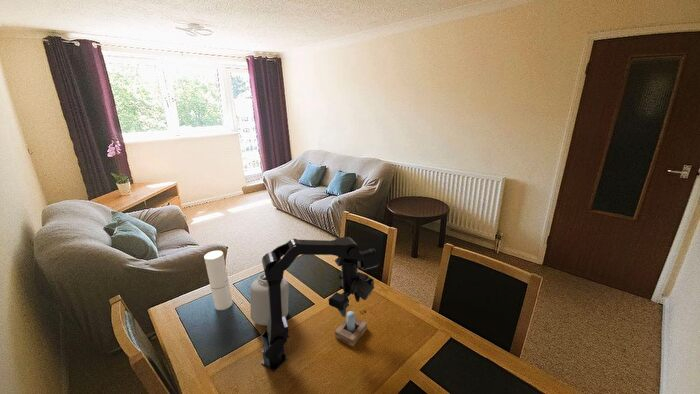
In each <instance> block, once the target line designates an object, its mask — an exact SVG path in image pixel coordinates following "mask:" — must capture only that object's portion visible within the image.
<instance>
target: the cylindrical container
mask: <svg viewBox="0 0 700 394" xmlns="http://www.w3.org/2000/svg"><path fill="white" fill-rule="evenodd" d="M203 258H204V259H203V260H204V262H205V267H206V273H207V277H208V281H209V286H210V291H211V295H212V298H213V299H212V300H213V303H214V308H215V310H217V311H224V310H227V309H228V308H230V307H231V306H232V305H233V298H232V297H233V296H232V292H231V287H230V283H229V277H228V271H227V267H226V261H225V257H224V252H223V251H222V250H212V251H209V252H207V253H206V254H204V256H203Z"/></svg>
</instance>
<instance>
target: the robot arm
mask: <svg viewBox="0 0 700 394" xmlns="http://www.w3.org/2000/svg"><path fill="white" fill-rule="evenodd" d="M306 255H307V256H335V257H337V258H336V259H335V260H334V262H335V264H336V265H337V266H338V267H340V269H341V274H340V275H338V277H339V279H340V280H341V284H340V285H339V289H341V290H342V291H343V292H341V293H339V292H334V293H333V294H332V295H331V296H330V297H329V298H328V305H329V306H330V307H333V308H335V309H337V310H338V312H339V313H340V315H341V316H342V317H344V318H346V317H347V308H348V307H349V306H350V299H349V297H350V296H351V295H354V299H355V301H356V303H360V299H361V300H363V301H366V300H368V298H369V297H370V296H371V294H372V293H373V290H374V289H375V279H374V278H372V277H371V276H369V275H368V274H366V273H362V272H359V271H358V270H359V269H361V270H362V271H365V270H368V269H373V268H376V267H378V266H379V265H380V260H379V257H378V254H377V250H376V249H375V248H374V247H372V248H369V249H365V250H363V251H362V250H360V246H359V245H358V244H357V243H356V242H355V241H354V240H353V238H351V237H349V236H343V237H337V238H335V239H331V240H325V239H324V240H323V239H321V240H318V239H298V238H292V239H289V240H288V241H287V242H286V243H284V244H281V245H279V246H277V247H276V248H274V249H273V250H272V251H269V252H267V253H265V254H264V255H263V256H262V258H261V264H262V268H263V271H264V273H265V276H266V279H267V283H268V297H269V312H270V318H269V320H268V325H266V329H265V331H263V333H262V334H261V336H260V337H261V342H262V348H263V349H262V350H261V352H262V360H261V361H260V363H261V364H262V365H263V366H264V367H266V368H267V369H269V370H271V372H276V370H277V369H279V367H280V366H281V365H282V364H283V363H285V361H286V360H287V359H288V356H287V355H286V354H285V344H287V343H288V339H289V338H290V334H289V328H290V326H289V324H288V321H287V316H283V317H282V303H281V281H282V279H283V278H284V273H285V271H286V270H287V269H289V268H290V266H291V265H292V264H293V262H294V261H295V259H297V258H298V257H299V256H306ZM358 268H359V269H358Z"/></svg>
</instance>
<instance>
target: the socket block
mask: <svg viewBox="0 0 700 394" xmlns="http://www.w3.org/2000/svg"><path fill="white" fill-rule="evenodd" d="M367 330H368V322H367V321H365V320H362V319H360V318H358V317H356V316H355V332H354V333H351V332H349V331H347V317H345V319H344V321H343V322H342V323H341V324H340V325H339V326H338V327H337V328H336V330H335V331H334V337H335V339H337V340H339V341H341V342H342V343H345V344H346V345H348V346H350V347H355V345H356V344H357V343H358V342H359V340H360V339H361V338H362V337H363V335H364V334H365V333H366V331H367Z"/></svg>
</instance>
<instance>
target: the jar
mask: <svg viewBox="0 0 700 394" xmlns="http://www.w3.org/2000/svg"><path fill="white" fill-rule="evenodd" d="M249 288H250V290H249V291H250V298H249V299H250V301H249V302H250V303H249V304H250V306H249V307H250V308H249V309H250V319H251V320H252V322H253V323H255V324H257V325H259V326H267V325H268V320H269V318H270V312H269V297H268V283H267V279H266V276H265V272H264V273H261V274H260V275H258V276H257V278H256V279H255V280H253V282H251V284H250V287H249ZM281 303H282V317H283V316H286V317H287V316H288V314H289V281H288V279H286V278H285V277H283V279H282V281H281Z"/></svg>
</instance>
